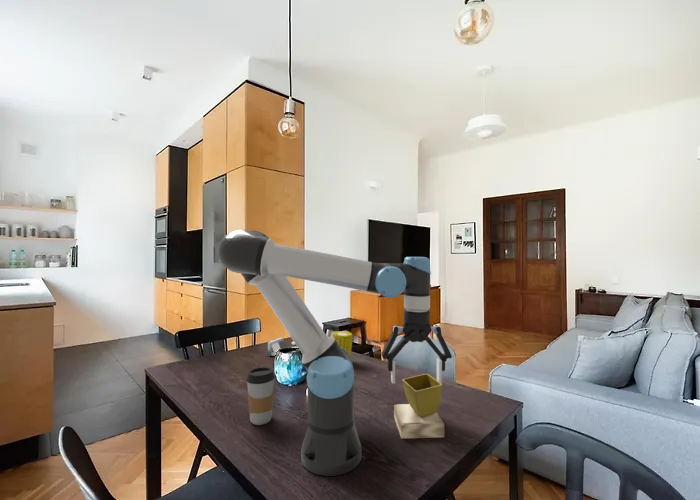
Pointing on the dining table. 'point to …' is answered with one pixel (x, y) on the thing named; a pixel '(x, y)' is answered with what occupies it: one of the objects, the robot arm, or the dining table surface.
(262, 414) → the coffee cup
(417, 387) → the flower pot
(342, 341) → the food
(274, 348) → the toy car
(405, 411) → the cream square block
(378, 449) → the dining table surface
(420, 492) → the dining table surface
